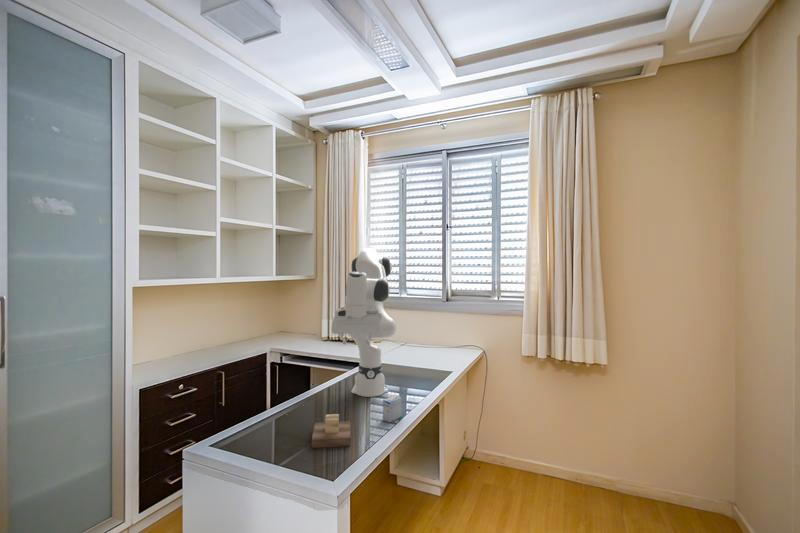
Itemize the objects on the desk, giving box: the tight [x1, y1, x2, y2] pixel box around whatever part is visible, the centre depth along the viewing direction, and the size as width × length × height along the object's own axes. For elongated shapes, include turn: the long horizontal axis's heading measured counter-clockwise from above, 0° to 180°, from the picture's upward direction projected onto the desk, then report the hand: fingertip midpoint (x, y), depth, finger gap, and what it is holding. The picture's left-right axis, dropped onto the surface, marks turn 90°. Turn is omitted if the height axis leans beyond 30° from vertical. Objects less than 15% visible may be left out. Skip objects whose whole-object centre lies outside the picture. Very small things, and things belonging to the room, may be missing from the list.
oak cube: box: [324, 413, 340, 433], centre depth 143 cm, size 5×5×5 cm
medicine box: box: [382, 394, 403, 423], centre depth 161 cm, size 8×4×9 cm, turn 141°
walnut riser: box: [311, 420, 352, 449], centre depth 143 cm, size 14×14×3 cm
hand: (355, 343), depth 155 cm, fingers open, 8 cm apart
